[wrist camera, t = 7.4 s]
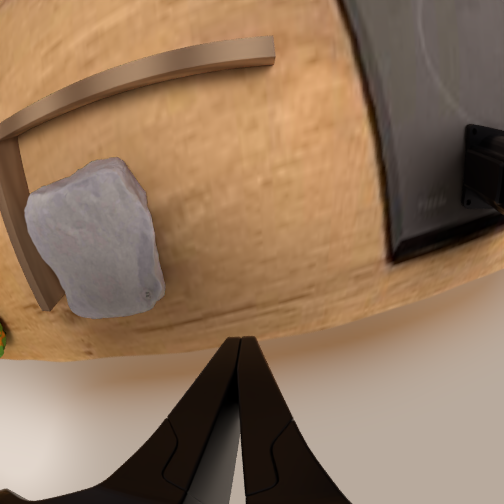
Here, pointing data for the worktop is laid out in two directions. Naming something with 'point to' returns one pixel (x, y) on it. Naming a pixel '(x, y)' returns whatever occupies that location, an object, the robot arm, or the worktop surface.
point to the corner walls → (87, 91)
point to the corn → (2, 340)
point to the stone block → (98, 240)
